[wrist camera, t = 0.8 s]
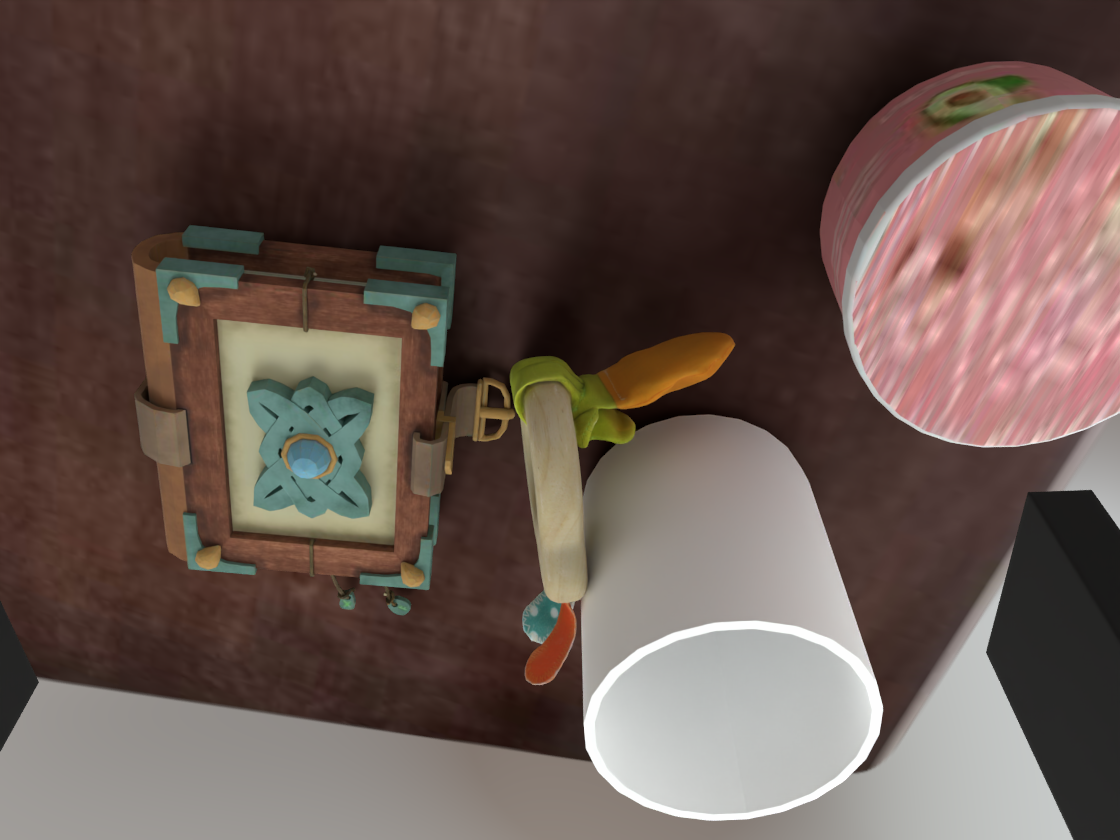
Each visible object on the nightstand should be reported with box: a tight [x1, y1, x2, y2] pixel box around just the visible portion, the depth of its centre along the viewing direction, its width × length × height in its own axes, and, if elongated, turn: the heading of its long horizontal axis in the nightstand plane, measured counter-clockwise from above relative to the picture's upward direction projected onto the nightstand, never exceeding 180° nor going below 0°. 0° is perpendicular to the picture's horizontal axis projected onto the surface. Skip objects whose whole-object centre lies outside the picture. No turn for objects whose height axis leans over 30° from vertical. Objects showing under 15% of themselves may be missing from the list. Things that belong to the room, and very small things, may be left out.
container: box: [820, 61, 1120, 447], centre depth 32 cm, size 10×10×8 cm
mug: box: [581, 414, 883, 821], centre depth 38 cm, size 10×12×12 cm
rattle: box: [510, 332, 735, 685], centre depth 37 cm, size 8×8×12 cm
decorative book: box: [131, 225, 515, 615], centre depth 38 cm, size 13×18×5 cm
